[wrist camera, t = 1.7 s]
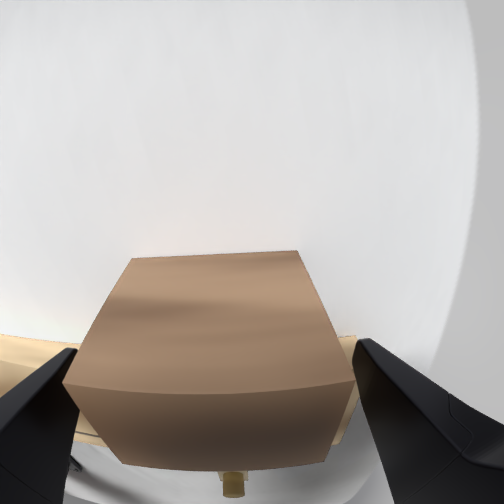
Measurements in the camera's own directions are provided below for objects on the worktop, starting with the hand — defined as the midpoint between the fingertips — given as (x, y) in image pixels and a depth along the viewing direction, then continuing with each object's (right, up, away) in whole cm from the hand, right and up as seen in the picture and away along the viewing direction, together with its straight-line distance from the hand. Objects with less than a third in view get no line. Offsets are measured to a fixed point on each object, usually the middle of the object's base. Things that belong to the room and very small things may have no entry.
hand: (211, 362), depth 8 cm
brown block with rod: (0, -2, +4) cm, 5 cm away
